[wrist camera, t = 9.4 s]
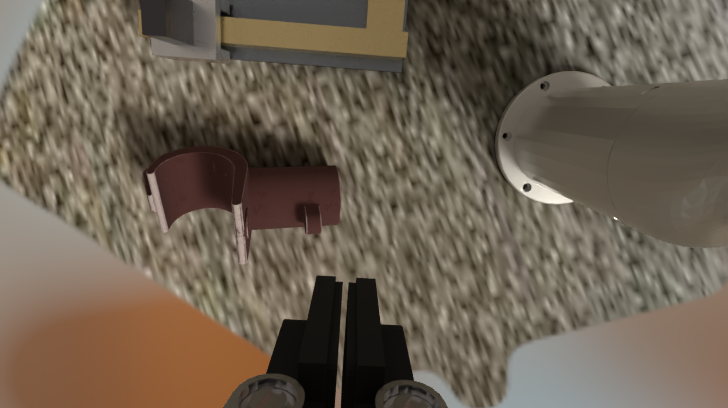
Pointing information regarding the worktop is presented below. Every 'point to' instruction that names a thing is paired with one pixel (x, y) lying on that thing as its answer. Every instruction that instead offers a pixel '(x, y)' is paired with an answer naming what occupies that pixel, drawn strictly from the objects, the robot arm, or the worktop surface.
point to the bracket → (242, 192)
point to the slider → (185, 29)
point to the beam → (323, 34)
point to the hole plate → (310, 6)
